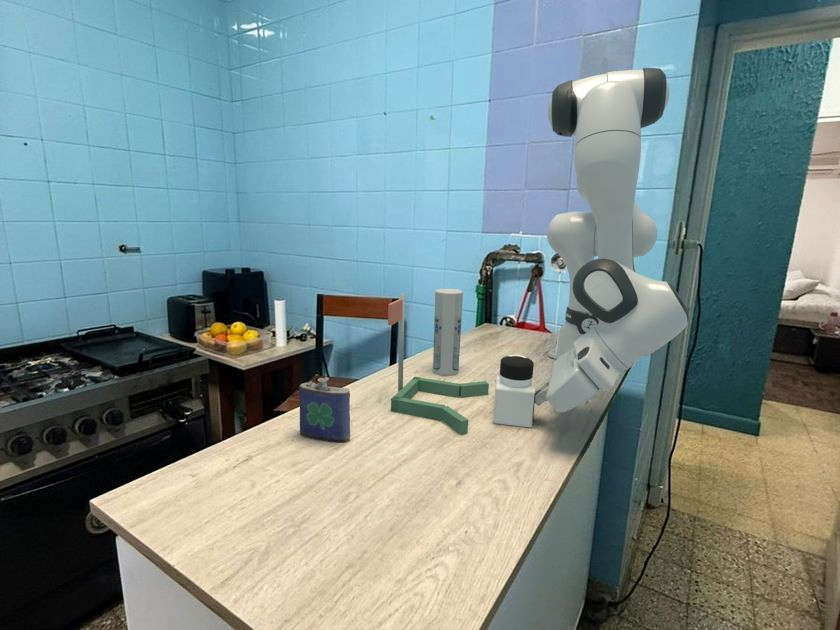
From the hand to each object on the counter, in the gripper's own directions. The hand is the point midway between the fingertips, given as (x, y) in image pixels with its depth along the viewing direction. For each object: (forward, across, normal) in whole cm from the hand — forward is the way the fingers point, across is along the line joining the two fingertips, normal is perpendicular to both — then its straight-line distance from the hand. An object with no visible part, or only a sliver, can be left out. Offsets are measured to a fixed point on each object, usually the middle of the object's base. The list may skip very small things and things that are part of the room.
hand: (535, 399), depth 82 cm
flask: (+26, +20, -20) cm, 39 cm away
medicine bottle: (+6, 0, 0) cm, 6 cm away
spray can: (+19, -19, -13) cm, 30 cm away
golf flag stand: (+16, 0, -10) cm, 19 cm away
